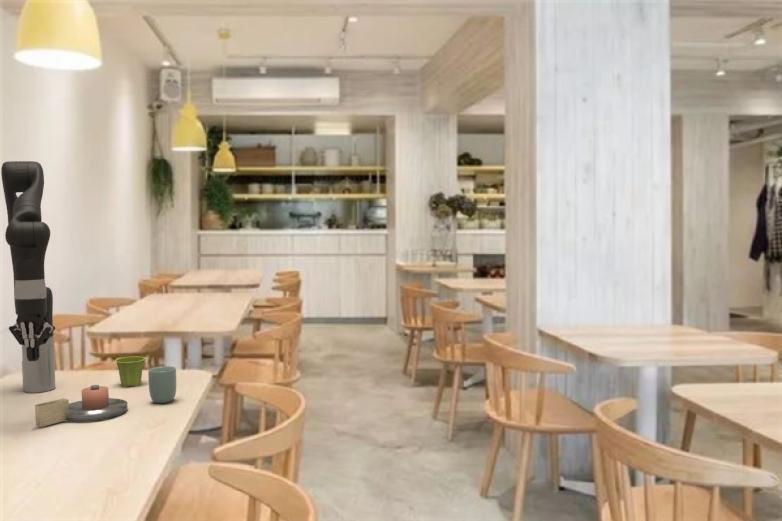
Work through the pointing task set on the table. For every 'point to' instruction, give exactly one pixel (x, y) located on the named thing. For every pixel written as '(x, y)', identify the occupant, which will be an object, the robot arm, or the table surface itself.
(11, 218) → the robot arm
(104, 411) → the platter
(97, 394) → the cap
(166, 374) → the cup
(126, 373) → the plant pot
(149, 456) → the table surface
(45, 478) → the table surface
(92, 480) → the table surface
